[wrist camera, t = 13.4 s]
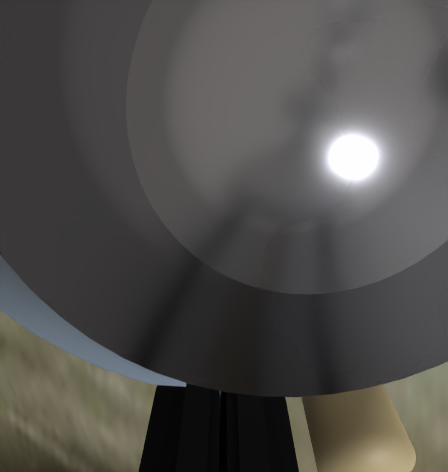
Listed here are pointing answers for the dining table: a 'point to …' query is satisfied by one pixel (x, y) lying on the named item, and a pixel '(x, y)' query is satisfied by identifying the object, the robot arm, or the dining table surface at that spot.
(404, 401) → the dining table surface
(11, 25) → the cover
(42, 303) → the turntable
